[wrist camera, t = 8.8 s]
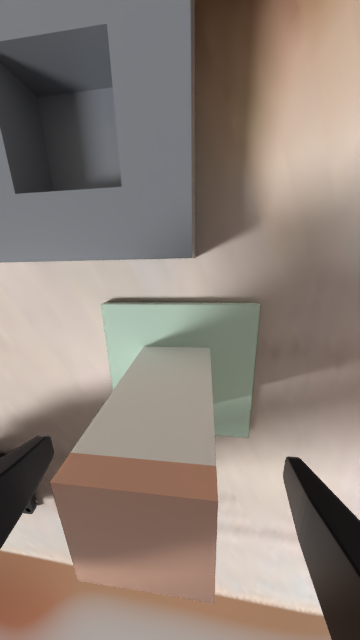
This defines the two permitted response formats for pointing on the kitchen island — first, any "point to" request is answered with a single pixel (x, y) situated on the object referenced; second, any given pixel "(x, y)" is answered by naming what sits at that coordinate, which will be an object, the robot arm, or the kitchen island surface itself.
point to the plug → (147, 481)
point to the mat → (193, 331)
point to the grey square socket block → (97, 130)
